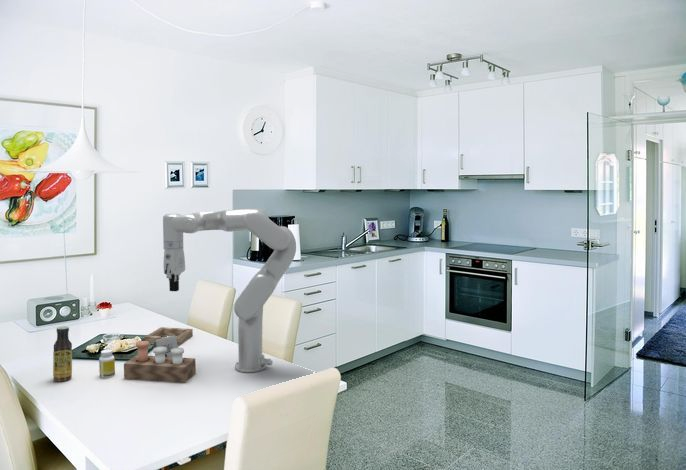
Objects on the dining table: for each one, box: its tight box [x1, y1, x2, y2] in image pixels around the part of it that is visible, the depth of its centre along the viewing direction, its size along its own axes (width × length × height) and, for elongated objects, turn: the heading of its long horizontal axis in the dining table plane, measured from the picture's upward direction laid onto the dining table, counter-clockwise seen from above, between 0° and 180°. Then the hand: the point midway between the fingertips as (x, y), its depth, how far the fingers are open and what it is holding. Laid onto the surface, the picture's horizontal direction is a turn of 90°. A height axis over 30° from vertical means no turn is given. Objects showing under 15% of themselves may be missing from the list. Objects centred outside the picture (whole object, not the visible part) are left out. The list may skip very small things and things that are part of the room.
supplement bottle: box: [98, 348, 116, 379], centre depth 200 cm, size 5×5×10 cm
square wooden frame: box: [144, 326, 194, 347], centre depth 245 cm, size 16×16×4 cm
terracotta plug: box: [135, 340, 150, 362], centre depth 201 cm, size 5×5×10 cm
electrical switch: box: [153, 336, 179, 357], centre depth 221 cm, size 9×5×9 cm, turn 141°
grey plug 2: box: [171, 347, 185, 364], centre depth 200 cm, size 5×5×10 cm
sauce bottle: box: [52, 325, 73, 383], centre depth 195 cm, size 7×6×20 cm
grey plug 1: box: [152, 347, 167, 363], centre depth 200 cm, size 5×5×10 cm
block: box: [123, 354, 197, 384], centre depth 201 cm, size 24×10×6 cm, turn 83°
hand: (174, 290), depth 208 cm, fingers closed
